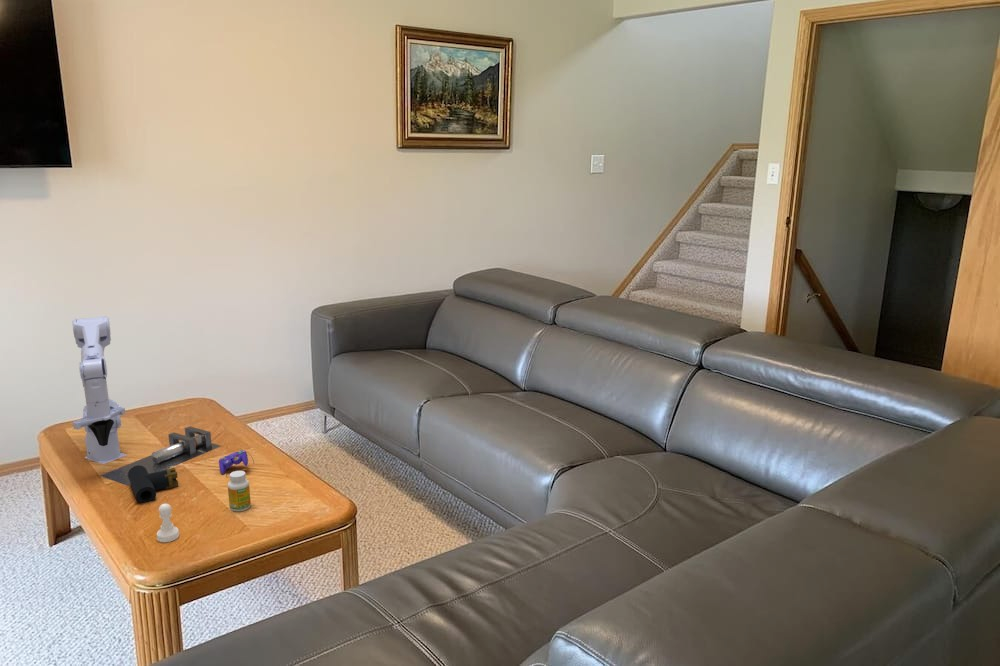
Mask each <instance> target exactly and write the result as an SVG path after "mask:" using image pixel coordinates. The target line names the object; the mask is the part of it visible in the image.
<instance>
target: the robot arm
mask: <svg viewBox="0 0 1000 666" xmlns="http://www.w3.org/2000/svg"><path fill="white" fill-rule="evenodd" d="M110 326H111V324H110V318H109V317H108V316H106V315H105V316H99V317H97V316H96V317H88V318H73V320H72V331H73V338H74V340H75V344H76V345H77V347H78V348H79V349H81V350H80V355H81V358H80V359H81V362H79V364H78V367H79V368H78V369H79V375H80V379H81V381H82V387H83V391H84V398H85V404H86V405H85V406H84V407H83V410H82V412H83V415H82V418H79V419H77V420H74V421H72V428H73V429H74V430H77V431H78V430H81V429H82V428H84V431H85V432H86V434H85V437H84V441H85V448H86V454H87V456H85V457H84V459H87V460H90V461H92V462H95V463H98V464H101V465H106V464H107V463H110V462H112V461H113V462H114V461H115V460H118V459H121V458H123V457H126V456H127V455H128V454H126V453H123V452H121V448H120V442H119V433H118V429H120V428H121V427H122V419H121V416H123V415H126V409H125V407H123V406H119V404H118V402H116V401H114V400H112V399H111V398H110V397H109V390H108V384H107V378H108V367H107V362H106V359H105V355H104V354H105V349H106V347H107V346H109V345H111V341H112V339H111V327H110Z"/></svg>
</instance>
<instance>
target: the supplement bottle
mask: <svg viewBox="0 0 1000 666" xmlns="http://www.w3.org/2000/svg"><path fill="white" fill-rule="evenodd" d="M246 476H247V474H246V472H245V471H244V470H235V471H234V470H233V471H232V472H231V473H229V480H230V481H228V483H227V491H228V494H227V495H228V502H229V503H228V505H229V510H231V511H232V512H243V511H246V510H248V509H250V507H251V506H252V502H251V489H250V481H249V480H248V479H247V477H246Z"/></svg>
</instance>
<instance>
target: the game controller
mask: <svg viewBox="0 0 1000 666" xmlns="http://www.w3.org/2000/svg"><path fill="white" fill-rule="evenodd" d="M248 454H249V452H248V451H246V450H243V449H241V450H239V451H236V452H233V453H230V454H228V455H225V456H224V455H223V456H221V458H219V460H218V465H219V466H218V467H219V470H220V471H219V472H220V473H221V474H222V475H224V474H225V473H226V476H225V477H226V478H229V477H228V471H229V469H230V468H231V467H234V468H236V465H240V464H241V463H242V464H243V465H244V466H245V467H247V466H248V465H249V458H248ZM250 456H251V459H252V461H253V463H255V461H254V459H253V457H252V455H250ZM233 465H235V466H233ZM226 470H227V471H226ZM234 471H236V469H234V470H233V472H234Z"/></svg>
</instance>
